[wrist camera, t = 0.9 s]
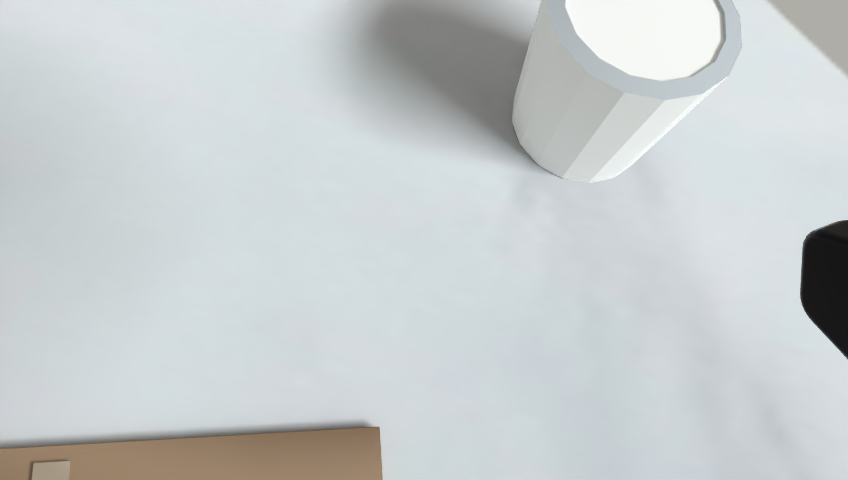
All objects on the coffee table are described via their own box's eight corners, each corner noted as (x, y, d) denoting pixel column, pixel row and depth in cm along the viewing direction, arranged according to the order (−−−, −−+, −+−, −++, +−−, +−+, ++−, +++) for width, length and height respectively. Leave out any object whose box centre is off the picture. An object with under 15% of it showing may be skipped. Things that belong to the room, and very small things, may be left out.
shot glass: (487, 51, 33) (533, -75, 26) (640, 55, 34) (719, -65, 27) (507, 197, 30) (562, 96, 24) (671, 196, 31) (766, 99, 25)
